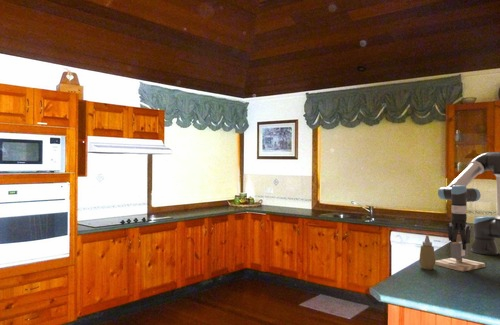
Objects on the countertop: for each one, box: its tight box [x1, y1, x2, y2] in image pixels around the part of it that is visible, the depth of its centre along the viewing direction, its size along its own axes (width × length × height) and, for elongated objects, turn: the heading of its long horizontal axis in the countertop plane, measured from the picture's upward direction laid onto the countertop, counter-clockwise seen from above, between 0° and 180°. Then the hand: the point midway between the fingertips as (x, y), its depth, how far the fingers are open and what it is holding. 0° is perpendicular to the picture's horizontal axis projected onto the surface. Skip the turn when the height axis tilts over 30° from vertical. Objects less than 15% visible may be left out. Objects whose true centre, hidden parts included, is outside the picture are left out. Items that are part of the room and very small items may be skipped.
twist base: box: [434, 257, 486, 272], centre depth 221 cm, size 20×17×4 cm
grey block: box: [449, 240, 469, 259], centre depth 221 cm, size 10×4×8 cm, turn 119°
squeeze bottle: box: [418, 234, 436, 271], centre depth 215 cm, size 8×8×18 cm
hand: (459, 254), depth 221 cm, fingers closed on grey block, 4 cm apart
